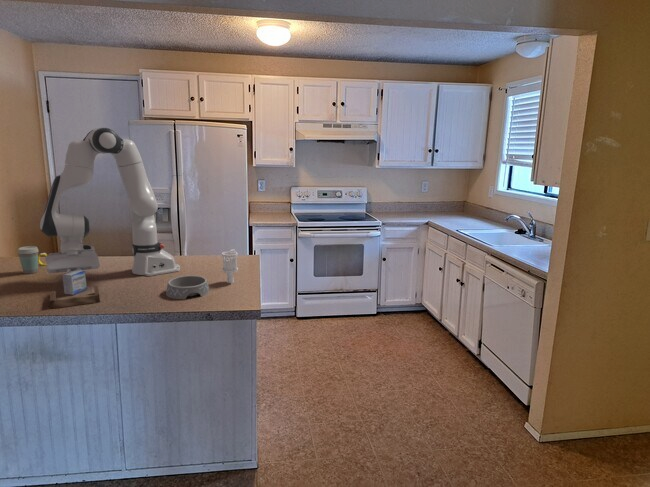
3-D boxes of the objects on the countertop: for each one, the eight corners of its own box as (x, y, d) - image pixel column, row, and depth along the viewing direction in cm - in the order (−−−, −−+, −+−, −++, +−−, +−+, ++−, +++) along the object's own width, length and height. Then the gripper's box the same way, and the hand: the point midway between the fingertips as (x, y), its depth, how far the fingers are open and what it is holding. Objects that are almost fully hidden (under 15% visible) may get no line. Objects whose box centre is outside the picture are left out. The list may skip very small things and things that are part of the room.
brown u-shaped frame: (98, 292, 189) (98, 285, 189) (99, 302, 179) (99, 295, 178) (52, 298, 181) (51, 291, 181) (50, 308, 171) (49, 301, 170)
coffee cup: (45, 270, 217) (42, 246, 214) (29, 275, 209) (25, 250, 206) (32, 268, 219) (29, 245, 216) (15, 273, 211) (12, 249, 209)
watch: (37, 265, 225) (35, 254, 224) (41, 264, 228) (38, 253, 227) (48, 265, 225) (46, 254, 224) (52, 263, 228) (50, 252, 226)
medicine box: (73, 295, 185) (71, 275, 183) (64, 294, 186) (61, 274, 184) (87, 289, 193) (85, 270, 191) (78, 288, 194) (76, 269, 192)
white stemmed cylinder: (241, 281, 209) (240, 250, 205) (232, 285, 203) (231, 253, 199) (228, 278, 212) (228, 248, 208) (219, 282, 205) (218, 251, 202)
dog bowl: (215, 295, 191) (214, 283, 189) (171, 302, 181) (170, 290, 180) (202, 283, 205) (202, 272, 203) (161, 290, 195) (160, 278, 194)
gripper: (44, 250, 191) (45, 278, 185) (97, 245, 201) (100, 272, 195) (46, 257, 196) (47, 285, 190) (98, 253, 206) (100, 279, 200)
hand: (74, 278), depth 193 cm, fingers closed
